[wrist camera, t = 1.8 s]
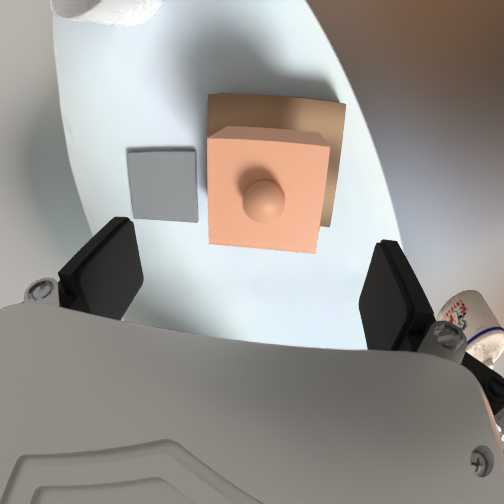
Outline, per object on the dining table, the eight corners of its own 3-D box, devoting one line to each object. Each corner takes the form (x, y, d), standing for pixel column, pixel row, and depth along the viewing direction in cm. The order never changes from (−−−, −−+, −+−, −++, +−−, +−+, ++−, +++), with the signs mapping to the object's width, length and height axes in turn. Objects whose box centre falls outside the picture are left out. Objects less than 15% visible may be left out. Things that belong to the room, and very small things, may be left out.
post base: (326, 214, 31) (341, 274, 22) (215, 205, 32) (184, 259, 23) (340, 102, 25) (370, 109, 15) (215, 94, 26) (175, 97, 16)
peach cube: (310, 216, 24) (316, 262, 18) (226, 209, 25) (205, 251, 19) (319, 132, 21) (332, 150, 15) (227, 126, 21) (202, 141, 15)
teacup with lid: (449, 285, 34) (483, 347, 24) (491, 288, 33) (526, 342, 23) (418, 345, 40) (437, 405, 30) (459, 344, 39) (481, 398, 29)
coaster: (198, 220, 33) (197, 222, 33) (136, 216, 34) (133, 218, 33) (196, 150, 29) (194, 152, 28) (128, 151, 30) (126, 153, 29)
